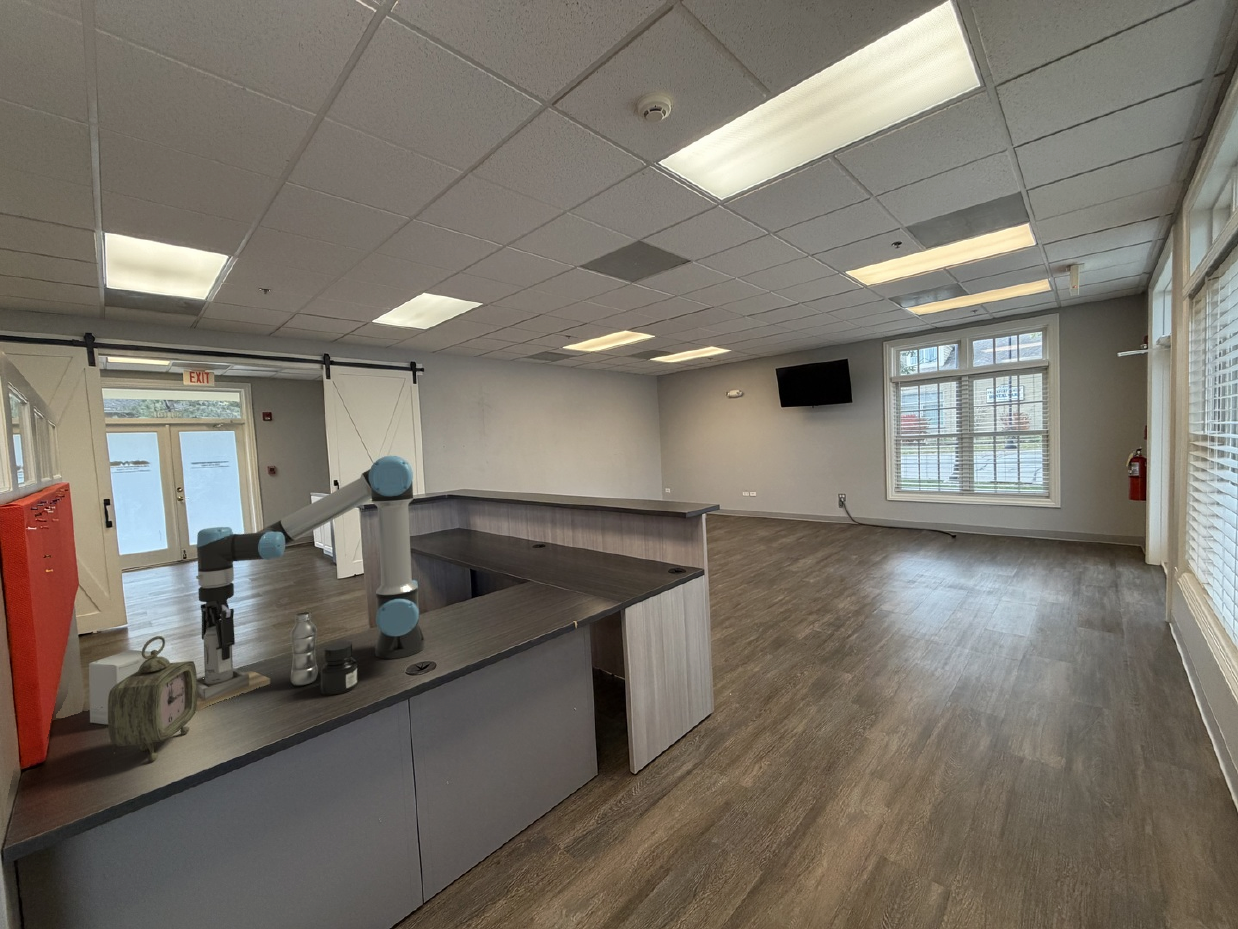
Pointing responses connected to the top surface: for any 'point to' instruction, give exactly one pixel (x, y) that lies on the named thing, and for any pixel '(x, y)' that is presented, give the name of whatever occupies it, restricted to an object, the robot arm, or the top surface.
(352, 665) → the ink bottle
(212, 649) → the energy drink can
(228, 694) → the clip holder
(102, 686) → the supplement box
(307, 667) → the plastic bottle
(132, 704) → the tabletop clock
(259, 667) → the top surface
